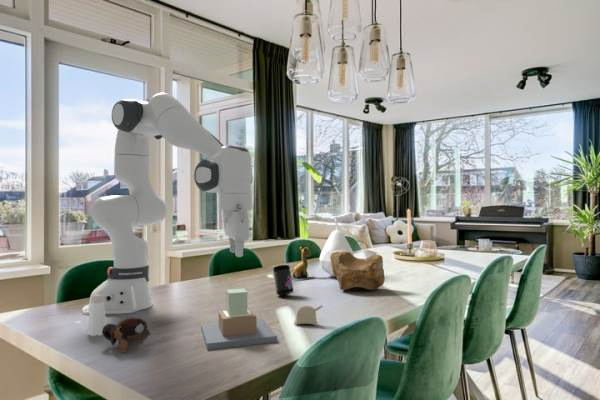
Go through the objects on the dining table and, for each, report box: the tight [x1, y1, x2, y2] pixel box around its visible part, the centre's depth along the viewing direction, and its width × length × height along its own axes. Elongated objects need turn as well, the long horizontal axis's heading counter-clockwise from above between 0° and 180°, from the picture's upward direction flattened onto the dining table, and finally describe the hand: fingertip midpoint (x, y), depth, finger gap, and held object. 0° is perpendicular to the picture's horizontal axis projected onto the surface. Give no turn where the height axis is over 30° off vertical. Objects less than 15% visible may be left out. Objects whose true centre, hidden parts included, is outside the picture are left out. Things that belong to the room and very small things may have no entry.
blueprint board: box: [200, 307, 278, 350], centre depth 119 cm, size 18×18×6 cm
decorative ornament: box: [293, 304, 323, 326], centre depth 129 cm, size 4×8×5 cm, turn 87°
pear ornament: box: [318, 218, 355, 278], centre depth 209 cm, size 16×22×28 cm
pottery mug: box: [102, 316, 151, 354], centre depth 109 cm, size 12×9×8 cm
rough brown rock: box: [330, 251, 385, 291], centre depth 177 cm, size 23×17×15 cm
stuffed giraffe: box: [290, 244, 318, 283], centre depth 206 cm, size 16×18×16 cm
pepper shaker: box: [86, 294, 107, 337], centre depth 121 cm, size 5×5×11 cm
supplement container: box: [272, 264, 294, 297], centre depth 167 cm, size 7×7×10 cm
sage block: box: [225, 287, 248, 316], centre depth 119 cm, size 5×5×6 cm
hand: (236, 254), depth 119 cm, fingers open, 8 cm apart
